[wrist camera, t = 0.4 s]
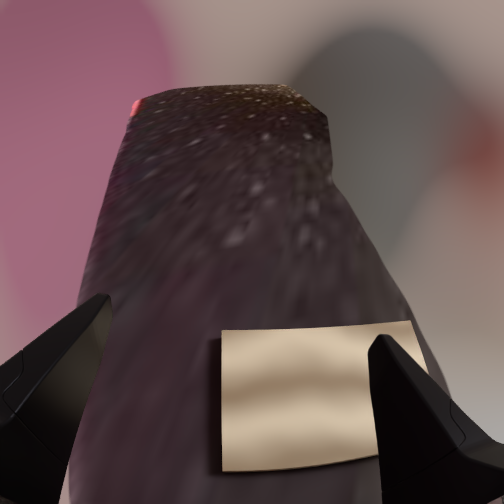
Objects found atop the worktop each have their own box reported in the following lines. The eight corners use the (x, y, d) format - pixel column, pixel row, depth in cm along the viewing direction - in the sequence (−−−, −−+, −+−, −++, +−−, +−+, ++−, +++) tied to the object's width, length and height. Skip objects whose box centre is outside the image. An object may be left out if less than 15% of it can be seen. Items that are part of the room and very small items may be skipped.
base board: (437, 437, 19) (445, 433, 18) (223, 472, 18) (222, 470, 17) (405, 327, 28) (409, 320, 27) (222, 337, 27) (221, 330, 26)
